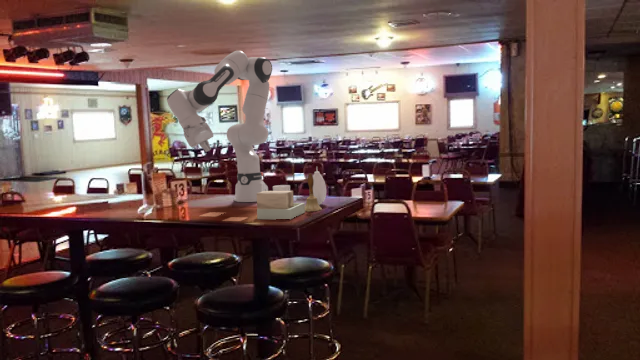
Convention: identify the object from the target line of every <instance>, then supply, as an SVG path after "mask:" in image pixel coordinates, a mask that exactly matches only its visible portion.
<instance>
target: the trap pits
mask: <svg viewBox="0 0 640 360" xmlns="http://www.w3.org/2000/svg"><path fill="white" fill-rule="evenodd" d="M224 213H225V214H227V212H221V211H220V212H219V211H217V212H215V211H214V212H213V211H212V212H211V211H209V212H207V213H204V214H201V215H198V218H199V217H200V218H204V217H206V218H207V217H209V218H210V217H212V218H216V217H219V216H222V215H225V214H224ZM221 214H222V215H221ZM247 219H249V217H247V216H245V217H243V216H238V217H236V216H234V217H233V216H230V217H228V218H225V219H222V220H221V222H242V221H245V220H247Z"/></svg>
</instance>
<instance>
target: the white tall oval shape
mask: <svg viewBox="0 0 640 360" xmlns="http://www.w3.org/2000/svg"><path fill="white" fill-rule="evenodd" d="M315 169H316V171H314V173H313V175H312V176H313V180H314V184H313V194H314V196H315V197H316V198H317V202H318V205H319V206H321V205H322V204H323V203H324V202H325V200H326V196H327V186H326V182H325V179H324V178H323V175H322V174H321V173H320V171H318V167H316V168H315ZM309 193H310V192H309ZM309 193H308V194H309Z"/></svg>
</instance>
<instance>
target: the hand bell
mask: <svg viewBox="0 0 640 360" xmlns="http://www.w3.org/2000/svg"><path fill="white" fill-rule="evenodd" d="M312 174H313V173H308V176H307V185H308V188H309V190H308V191H309V192H310V193H308V194H309V196H308V197H307V198H306V203H305V212H319V211H322V209H323V208H322V207H321V205H318V202H317V198H316V197H315V196H314V194H313V184H314V180H313V175H312Z"/></svg>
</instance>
